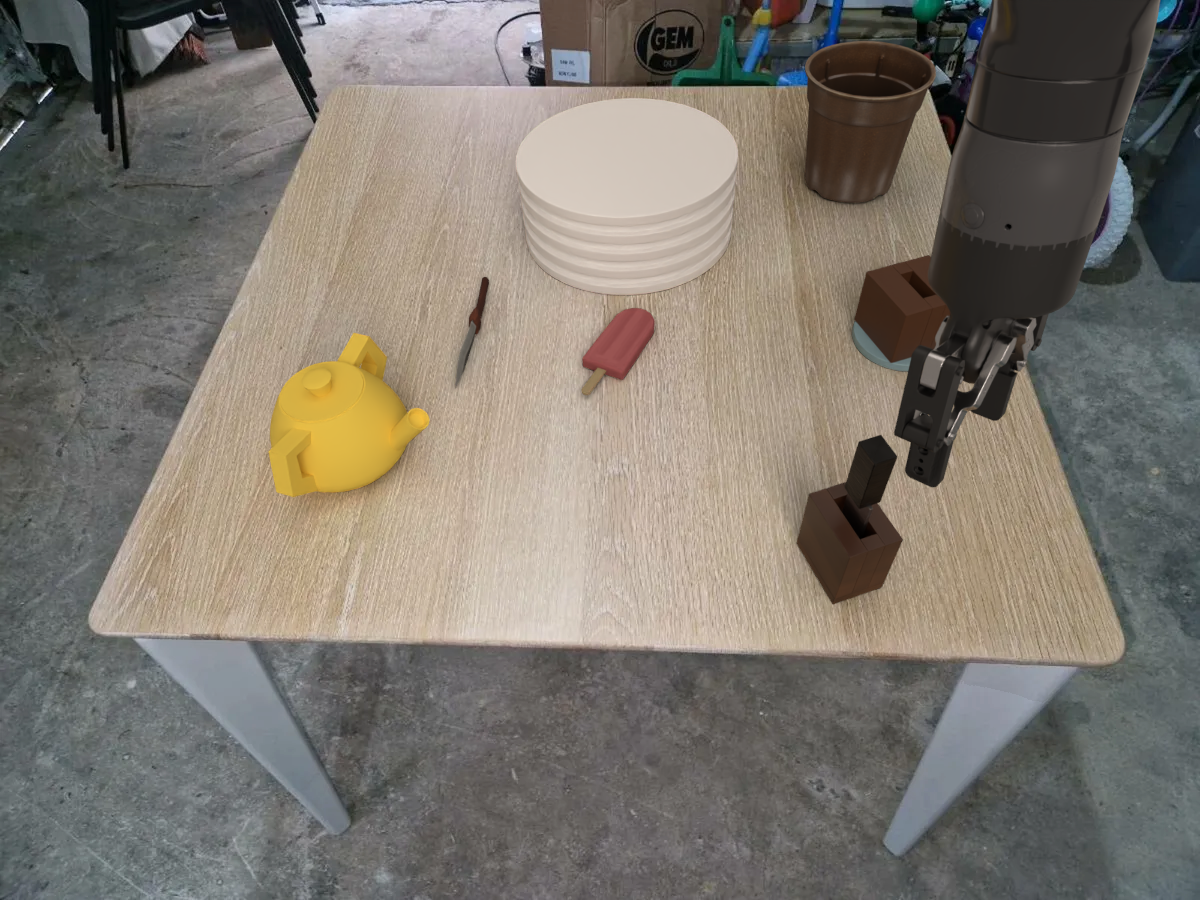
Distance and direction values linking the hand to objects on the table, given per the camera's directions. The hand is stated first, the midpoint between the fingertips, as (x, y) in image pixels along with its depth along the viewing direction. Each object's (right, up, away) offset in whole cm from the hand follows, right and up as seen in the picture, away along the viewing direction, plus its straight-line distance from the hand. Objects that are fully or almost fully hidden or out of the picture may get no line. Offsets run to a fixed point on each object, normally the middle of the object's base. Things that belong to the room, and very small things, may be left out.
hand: (955, 445), depth 52 cm
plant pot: (+12, +38, +62) cm, 74 cm away
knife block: (-1, -11, +22) cm, 25 cm away
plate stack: (-19, +30, +57) cm, 68 cm away
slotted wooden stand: (+12, +13, +41) cm, 45 cm away
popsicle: (-21, +11, +42) cm, 48 cm away
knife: (-38, +13, +45) cm, 60 cm away
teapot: (-48, -1, +34) cm, 59 cm away
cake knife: (-1, -10, +21) cm, 24 cm away
